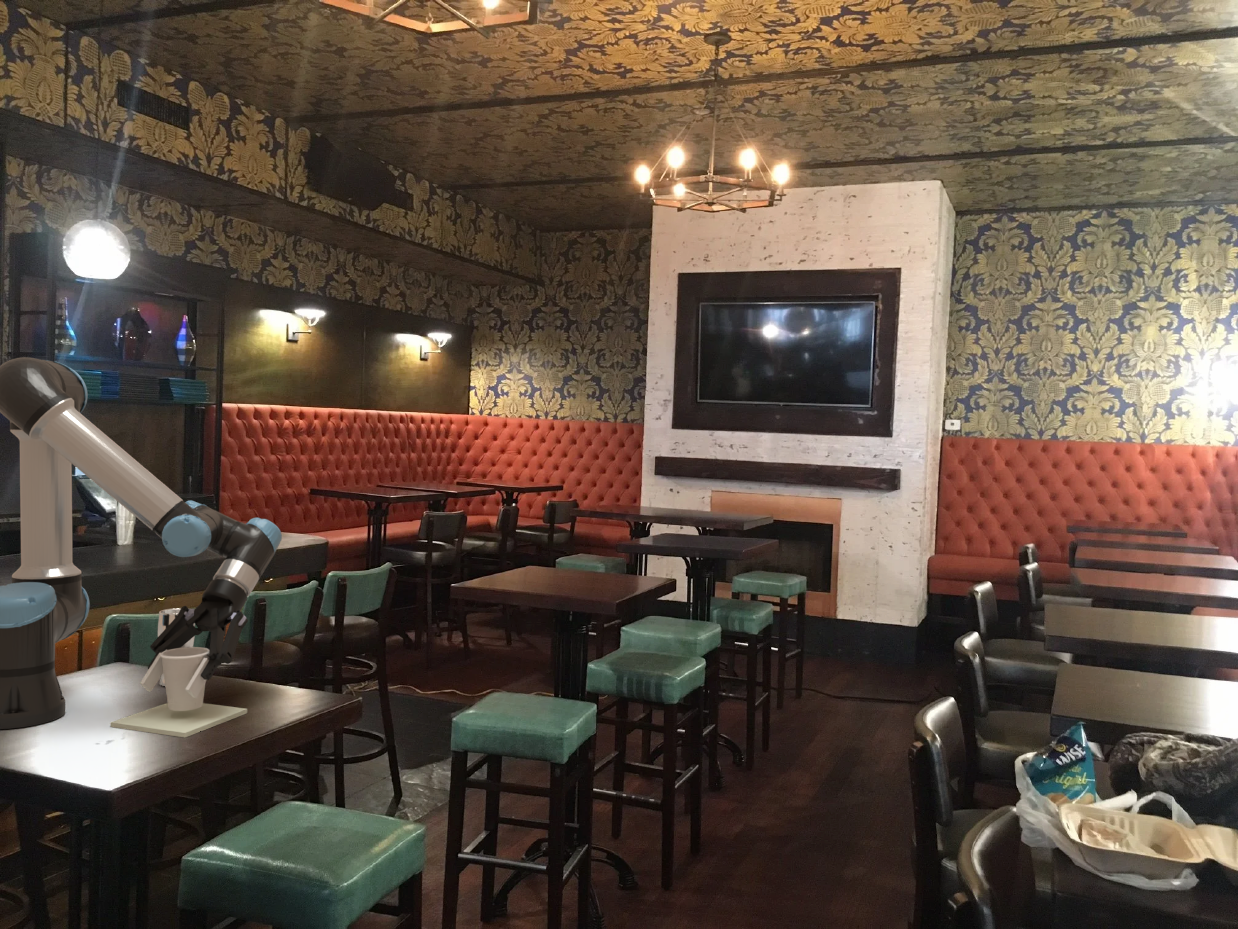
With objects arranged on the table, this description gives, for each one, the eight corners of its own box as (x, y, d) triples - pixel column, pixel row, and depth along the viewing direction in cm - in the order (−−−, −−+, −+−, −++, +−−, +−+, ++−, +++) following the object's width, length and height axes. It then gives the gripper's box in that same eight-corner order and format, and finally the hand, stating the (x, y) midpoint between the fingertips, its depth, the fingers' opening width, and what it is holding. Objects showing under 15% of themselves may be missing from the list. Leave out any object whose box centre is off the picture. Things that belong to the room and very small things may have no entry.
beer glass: (180, 689, 199) (181, 614, 199) (149, 686, 201) (150, 612, 200) (201, 680, 206) (202, 609, 206) (171, 678, 208) (172, 607, 207)
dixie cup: (192, 698, 185) (192, 645, 185) (220, 705, 180) (220, 650, 180) (150, 708, 178) (150, 653, 178) (178, 715, 173) (178, 658, 173)
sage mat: (110, 726, 174) (110, 722, 174) (176, 703, 189) (176, 699, 189) (185, 737, 169) (185, 733, 169) (247, 713, 184) (247, 708, 184)
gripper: (286, 604, 190) (229, 708, 175) (193, 596, 196) (129, 695, 182) (269, 581, 184) (208, 685, 170) (173, 572, 191) (107, 673, 176)
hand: (167, 690), depth 176 cm, fingers open, 9 cm apart
